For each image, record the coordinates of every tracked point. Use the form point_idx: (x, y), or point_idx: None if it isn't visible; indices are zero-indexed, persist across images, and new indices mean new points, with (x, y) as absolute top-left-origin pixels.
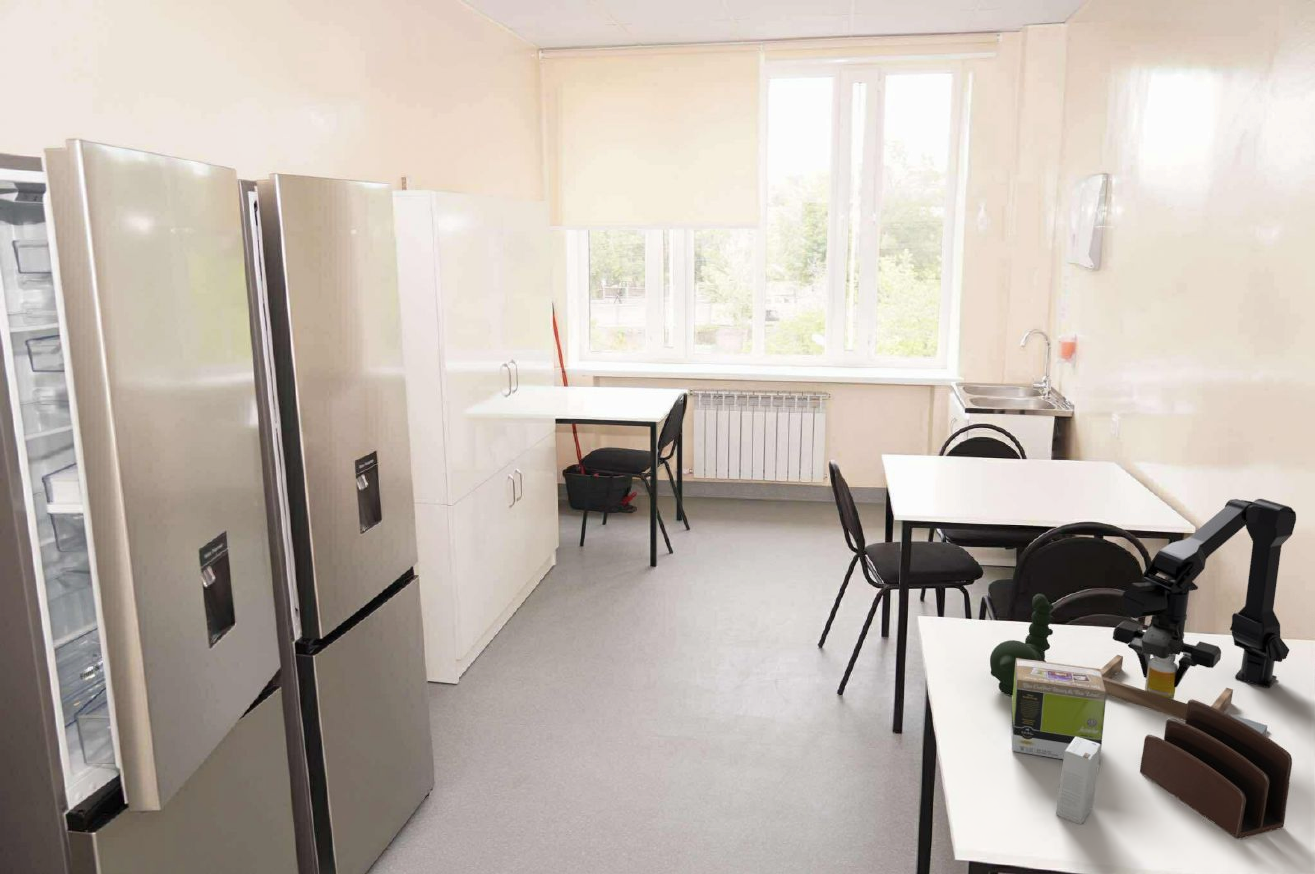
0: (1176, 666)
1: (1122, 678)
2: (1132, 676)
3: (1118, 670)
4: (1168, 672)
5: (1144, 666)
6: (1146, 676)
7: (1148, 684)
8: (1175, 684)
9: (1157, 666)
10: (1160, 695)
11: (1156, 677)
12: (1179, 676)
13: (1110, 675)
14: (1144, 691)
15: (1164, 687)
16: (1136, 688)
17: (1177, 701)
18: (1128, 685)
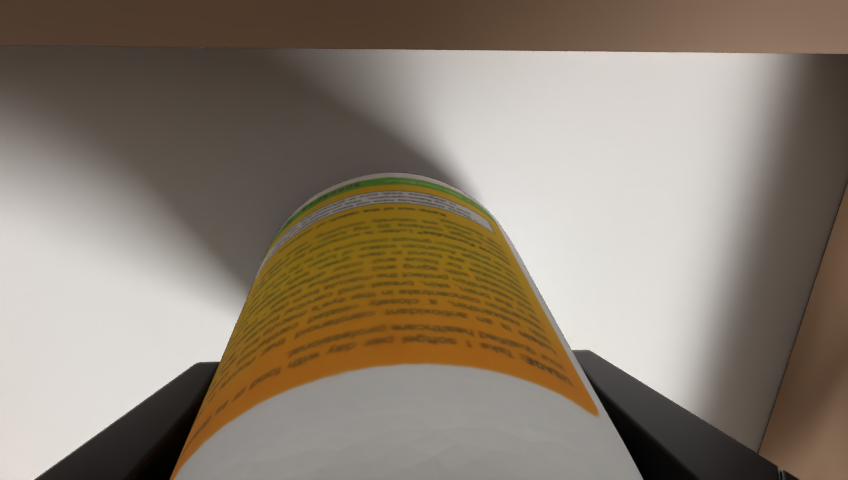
0: None
1: (714, 395)
2: None
3: None
4: (225, 431)
5: (673, 440)
6: None
7: (501, 247)
8: (197, 375)
9: (459, 444)
10: (278, 39)
11: (421, 284)
12: (74, 474)
13: (834, 330)
14: (491, 1)
15: (300, 249)
16: (604, 17)
17: (25, 20)
18: (712, 38)
